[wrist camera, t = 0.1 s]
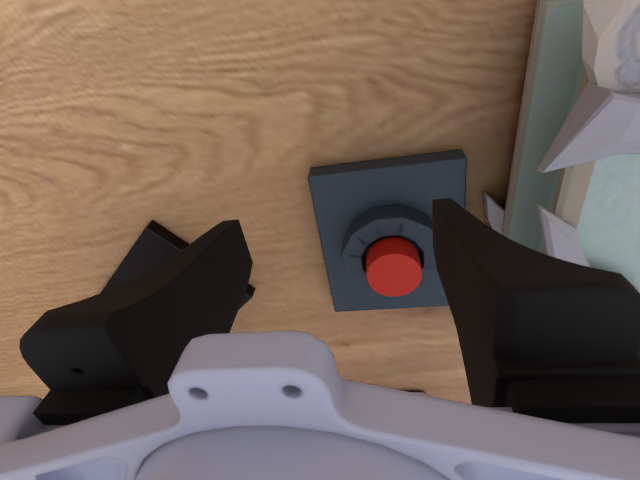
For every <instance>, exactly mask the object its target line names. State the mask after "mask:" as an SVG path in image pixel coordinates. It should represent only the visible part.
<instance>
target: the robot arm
mask: <svg viewBox="0 0 640 480" xmlns="http://www.w3.org/2000/svg"><path fill="white" fill-rule="evenodd" d="M432 219H433V251H434V257H435V262H436V267H437V271H438V274H439V277H440V280H441V283H442V286H443V289H444V292H445V295H446V298H447V301H448V304H449V306H450V309H451V312H452V315H453V318H454V322H455V325H456V329H457V333H458V337H459V342H460V347H461V351H462V356H463V361H464V366H465V371H466V376H467V381H468V386H469V391H470V396H471V401H472V404H468V403H463V402H458V401H453V400H447V399H442V398H437V397H432V396H427V395H426V394H425V393H423V392H407V391H402V390H397V389H392V388H387V387H382V386H377V385H372V384H367V383H362V382H357V381H352V380H347V379H343V378H341V377H340V376H339V374H338V372H337V369H336V365H335V360H334V356H333V354H332V352H331V351H330V349H329V348H328V346H327V344H326V343H325V342H323V341H322V340H320V339H318V338H316V337H314V336H313V335H311V334H309V333H305V332H298V331H291V330H288V331H267V332H246V333H230V330H231V327H232V324H233V322H234V319H235V317H236V314H237V312H238V309H239V306H240V304H241V301H242V299H243V296H244V293H245V291H246V288H247V285H248V282H249V278H250V273H251V268H252V263H253V262H252V259H251V256H250V253H249V250H248V247H247V244H246V241H245V238H244V235H243V232H242V229H241V226H240V223H239V220H229V221H223V222H221V223H219V224H218V225H216V226H215V227H213V228H212V229H210V230H209V231H208V232H206V233H205V234H203V235H202V236H201V237H199V238H198V239H197V240H195V241H194V242H193V243H191V244H190V245H188V246H187V247H186V248H184V249H183V250H181V251H180V252H178V253H177V254H175V255H174V256H172V257H171V258H169V259H168V260H166V261H165V262H163V263H162V264H160V265H158V266H157V267H155V268H153V269H151V270H150V271H148V272H146V273H144V274H142V275H140V276H138V277H136V278H134V279H132V280H130V281H128V282H126V283H124V284H122V285H119V286H117V287H115V288H113V289H110V290H108V291H105V292H103V293H100V294H98V295H95V296H92V297H90V298H87V299H84V300H81V301H78V302H75V303H72V304H68V305H65V306H62V307H59V308H56V309H52V310H48V311H47V312H45V313H44V314H43V315H42V316H41V317H40V318H39V319H38V320H37V321H36V322H35V324H34V325H33V326H32V327H31V328H30V329H29V330H28V331H27V332H26V333H25V334H24V335H23V336H22V338H21V339H20V351H21V354H22V357H23V358H24V360H25V361H26V362H27V364H28V365H29V366H30V367H31V368H32V370H33V371H34V372H35V373H36V374H37V375H38V376H39V378H40V379H41V380H42V381H43V382H44V383H45V384H46V385H47V387H48V388H49V389H51V390H50V391H49V393H48V394H47V395H46V396H45V398H44V399H41V398H39V397H36V396H3V397H0V480H640V357H639V355H640V293H639V292H638V291H637V290H636V288H635V287H634V286H633V285H632V284H631V283H630V282H629V281H628V280H627V279H626V278H625V277H624V276H623V275H622V274H621V273H616V272H611V271H607V270H602V269H597V268H592V267H587V266H583V265H579V264H575V263H572V262H568V261H565V260H561V259H558V258H555V257H552V256H549V255H546V254H544V253H541V252H538V251H536V250H533V249H531V248H528V247H526V246H524V245H521V244H519V243H517V242H515V241H513V240H511V239H509V238H507V237H505V236H504V235H502V234H500V233H498V232H497V231H495V230H493V229H492V228H490V227H489V226H487V225H486V224H484V223H483V222H481V221H480V220H478V219H477V218H476V217H474V216H473V215H471V214H470V213H469V212H468V211H466V210H465V209H464V208H463V207H461V206H460V205H459V204H458V203H456V202H455V201H454V200H453V199H451V198H444V199H434V200H432Z"/></svg>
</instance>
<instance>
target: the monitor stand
mask: <svg viewBox="0 0 640 480" xmlns="http://www.w3.org/2000/svg"><path fill="white" fill-rule="evenodd" d="M188 245H189V244H187V243H186V242H184V241H183V240H181V239H180V238H178V237H177V236H175V235H174V234H172V233H171V232H169V231H168V230H166V229H165V228H163V227H162V226H160V225H159V224H157V223H156V222H154V221H151V222H150V223H149V224H148V226H147V227H146V228H145V229H144V231H143V232H142V234H141V235H140V237H139V238H138V240H137V241H136V242H135V244H134V245H133V247H132V248H131V250H130V251H129V253H128V254H127V255H126V257H125V258H124V260H123V261H122V263H121V264H120V266H119V267H118V268H117V270H116V271H115V273H114V274H113V276H112V277H111V279H110V280H109V281H108V283H107V284H106V286H105V287H104V289H103V290H102V292H101V293H103V292H105V291H108V290H110V289H113V288H115V287H117V286H119V285H122V284H124V283H126V282H128V281H130V280H132V279H134V278H136V277H138V276H140V275H142V274H144V273H146V272H148V271H150V270H151V269H153V268H155V267H157V266H158V265H160V264H162V263H163V262H165V261H166V260H168V259H169V258H171V257H172V256H174V255H175V254H177V253H178V252H180V251H181V250H183V249H184V248H186V247H187V246H188ZM254 291H255V288H253V287H252V286H250V285H249V284H248V285H247V288H246V291H245V293H244V296H243V299H242V301H241V304H240V306H239V309H240V308H241V307H242V306H243V305H244V304H245V303H246V302H247V301H249V300H250V299H251V298H252V296H253V293H254ZM239 309H238V310H239Z"/></svg>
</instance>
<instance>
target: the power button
mask: <svg viewBox="0 0 640 480" xmlns="http://www.w3.org/2000/svg"><path fill="white" fill-rule="evenodd" d="M366 278H367V281H368V284H369V285H370V287H371V288H372V289H373V290H375V291H376V292H378V293H379V294H382V295H385V296H392V297H393V296H402V295H405V294H408V293H410V292H412V291H413V290H414V289H415V288H416V287H417V286H418V285H419V283H420V282H421V279H422V269H421V264H420V259H419V254H418V251H417V249H416V247H415V246H414V245H413V244H412V243H411V242H409V241H407V240H405V239H402V238H398V237H389V238H384V239H381V240H379V241H377V242H376V243H374V244H373V245H372V246H371V247H370V249H369V250H368V252H367V256H366Z"/></svg>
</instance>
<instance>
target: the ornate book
mask: <svg viewBox="0 0 640 480" xmlns="http://www.w3.org/2000/svg"><path fill="white" fill-rule="evenodd" d="M484 202H485V213H486V215H487V218H488V221H489V223H490V226H491V228H492V229H493V230H495V231H497V232H498V233H500V234H502V235H504V236H505V237H507V238H509V239H511V240H513V241H515V242H517V243H519V244H521V245H524V246H526V247H528V248H531V249H533V250H536V251H538V252H541V253H544V254H546V255H549V256H552V257H555V258H558V259H561V260H565V261H568V262H572V263H575V264H579V265H583V266H587V267H592V268H597V269H602V270H607V271H611V272H616V273H621V274H622V275H623V276H624V277H625V278H626V279H627V280H628V281H629V282H630V283H631V284H632V285H633V286H634V287H635V288H636V290H637V291H638V292H639V293H640V0H537V5H536V11H535V18H534V24H533V31H532V37H531V44H530V50H529V57H528V63H527V70H526V76H525V83H524V89H523V96H522V102H521V109H520V115H519V122H518V128H517V135H516V141H515V148H514V154H513V161H512V167H511V174H510V180H509V187H508V193H507V200H506V206H505V209H503V208H502V207H501V206H500V205H499V204H498V203H496V202H495V201H494V200H493V199H492V198H491V197H490V196H489V195H488V194H487V193H486V192H484ZM639 357H640V355H639Z"/></svg>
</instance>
